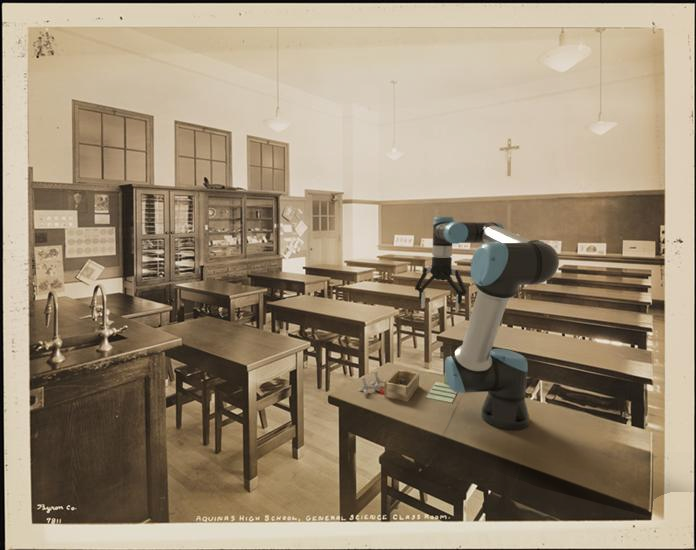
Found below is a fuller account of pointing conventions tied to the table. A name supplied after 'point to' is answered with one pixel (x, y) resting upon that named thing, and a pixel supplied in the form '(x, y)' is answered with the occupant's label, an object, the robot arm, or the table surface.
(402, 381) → the rubber stopper
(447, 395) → the ridged block with tab
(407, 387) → the tub
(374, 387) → the molecular model
